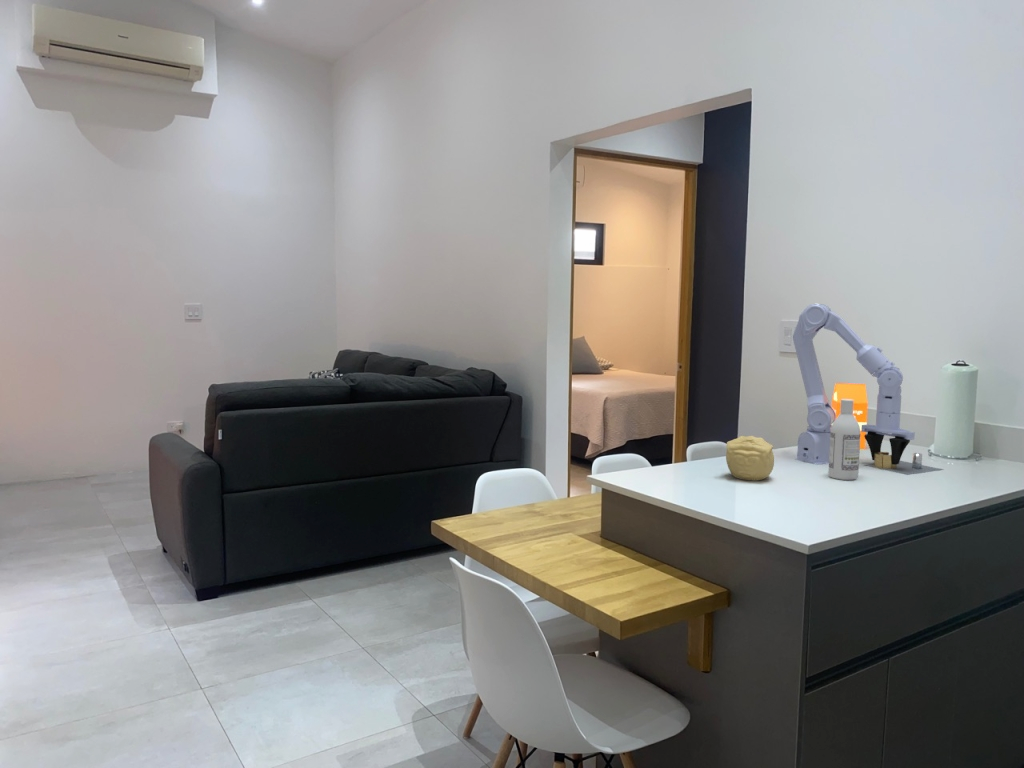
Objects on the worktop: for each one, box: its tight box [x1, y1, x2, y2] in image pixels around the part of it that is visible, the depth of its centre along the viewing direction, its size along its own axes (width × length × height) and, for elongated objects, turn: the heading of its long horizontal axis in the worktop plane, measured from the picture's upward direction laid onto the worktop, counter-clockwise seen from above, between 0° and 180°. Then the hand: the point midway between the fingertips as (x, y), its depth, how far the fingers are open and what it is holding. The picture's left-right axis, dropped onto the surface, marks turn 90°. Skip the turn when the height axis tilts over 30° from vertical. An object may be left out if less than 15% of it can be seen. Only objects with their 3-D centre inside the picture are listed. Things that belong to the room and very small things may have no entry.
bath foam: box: [828, 399, 861, 481], centre depth 190 cm, size 7×7×20 cm
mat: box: [863, 460, 945, 476], centre depth 202 cm, size 15×13×1 cm
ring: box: [873, 451, 897, 469], centre depth 202 cm, size 5×5×4 cm
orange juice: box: [831, 382, 869, 450], centre depth 232 cm, size 8×9×20 cm
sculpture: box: [725, 435, 775, 481], centre depth 189 cm, size 12×12×11 cm
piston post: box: [911, 452, 923, 469], centre depth 200 cm, size 2×2×4 cm
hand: (885, 462), depth 202 cm, fingers closed on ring, 5 cm apart
